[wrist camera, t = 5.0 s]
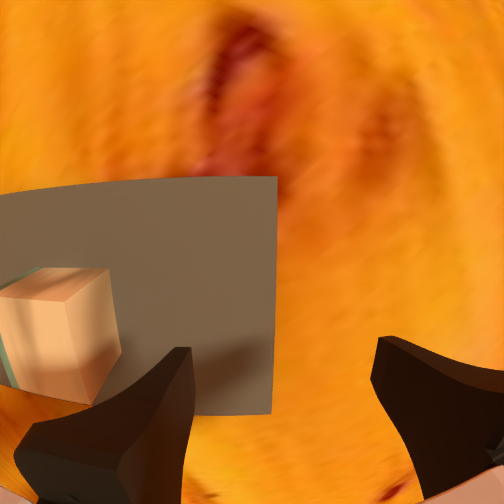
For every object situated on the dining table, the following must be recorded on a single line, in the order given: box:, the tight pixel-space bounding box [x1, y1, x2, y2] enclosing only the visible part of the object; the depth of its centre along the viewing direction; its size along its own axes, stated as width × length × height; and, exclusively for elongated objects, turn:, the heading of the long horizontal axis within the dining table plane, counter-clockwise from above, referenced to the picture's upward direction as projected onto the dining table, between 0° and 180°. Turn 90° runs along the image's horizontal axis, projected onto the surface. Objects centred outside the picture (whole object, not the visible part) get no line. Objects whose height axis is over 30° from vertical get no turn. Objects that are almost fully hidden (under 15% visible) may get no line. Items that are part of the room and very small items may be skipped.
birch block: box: [0, 267, 122, 405], centre depth 13 cm, size 5×5×5 cm
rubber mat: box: [0, 176, 277, 416], centre depth 16 cm, size 22×14×1 cm, turn 90°
